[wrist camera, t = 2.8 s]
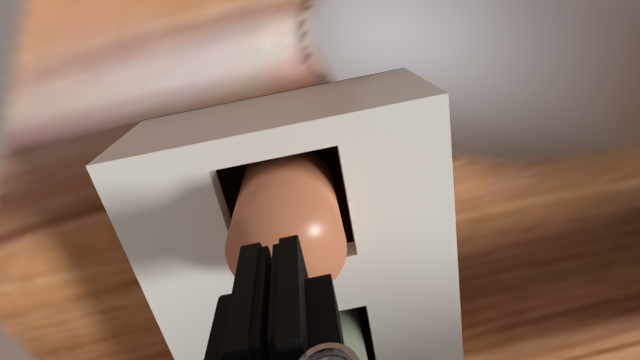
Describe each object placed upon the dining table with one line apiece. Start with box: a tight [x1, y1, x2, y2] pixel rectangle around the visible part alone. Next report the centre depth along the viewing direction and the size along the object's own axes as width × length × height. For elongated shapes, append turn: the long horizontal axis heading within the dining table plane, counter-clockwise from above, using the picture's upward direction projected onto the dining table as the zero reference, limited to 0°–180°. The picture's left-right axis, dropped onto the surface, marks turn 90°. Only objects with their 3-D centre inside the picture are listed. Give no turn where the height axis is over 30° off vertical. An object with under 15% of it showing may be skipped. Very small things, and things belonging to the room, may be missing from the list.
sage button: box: [339, 308, 368, 360], centre depth 19 cm, size 4×4×5 cm
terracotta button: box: [225, 151, 347, 281], centre depth 16 cm, size 4×4×5 cm
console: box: [86, 68, 464, 360], centre depth 21 cm, size 13×22×6 cm, turn 10°
